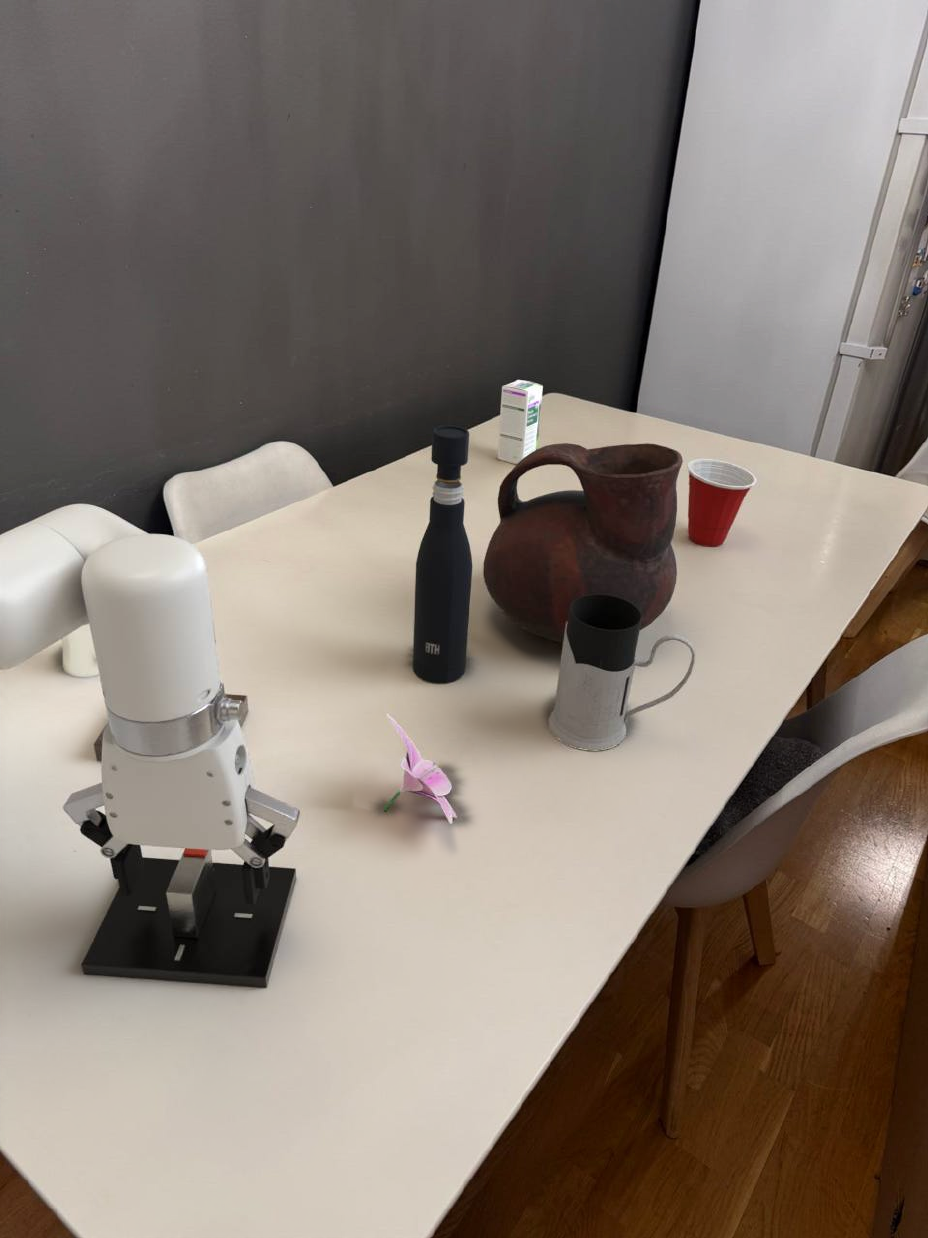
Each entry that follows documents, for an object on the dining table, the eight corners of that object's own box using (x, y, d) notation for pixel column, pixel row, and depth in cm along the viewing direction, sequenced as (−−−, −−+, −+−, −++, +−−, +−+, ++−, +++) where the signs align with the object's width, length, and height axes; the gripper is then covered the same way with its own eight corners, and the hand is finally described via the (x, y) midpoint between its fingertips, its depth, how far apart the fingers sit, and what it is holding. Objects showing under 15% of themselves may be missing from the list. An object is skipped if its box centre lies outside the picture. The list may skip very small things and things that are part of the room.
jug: (539, 559, 134) (558, 398, 121) (694, 615, 122) (733, 442, 109) (441, 624, 116) (451, 443, 103) (612, 697, 104) (646, 502, 92)
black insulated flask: (455, 651, 111) (470, 419, 96) (472, 680, 106) (490, 439, 90) (406, 658, 109) (413, 422, 94) (420, 687, 104) (430, 443, 88)
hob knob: (198, 939, 69) (191, 892, 66) (172, 937, 69) (164, 890, 66) (216, 889, 73) (210, 843, 71) (192, 888, 73) (185, 842, 71)
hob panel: (86, 986, 68) (80, 963, 66) (137, 876, 77) (133, 855, 76) (267, 999, 68) (265, 977, 66) (297, 888, 77) (295, 866, 76)
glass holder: (556, 696, 104) (572, 584, 96) (678, 723, 101) (704, 610, 93) (540, 740, 97) (556, 623, 89) (671, 770, 93) (698, 652, 86)
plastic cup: (739, 559, 138) (756, 488, 132) (669, 546, 141) (683, 475, 135) (743, 532, 147) (759, 464, 141) (678, 520, 150) (691, 453, 144)
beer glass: (129, 669, 104) (110, 555, 96) (67, 686, 100) (42, 569, 92) (112, 641, 109) (93, 531, 101) (52, 657, 105) (27, 543, 97)
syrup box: (522, 466, 167) (529, 390, 160) (495, 459, 170) (501, 384, 163) (536, 458, 172) (544, 384, 164) (510, 451, 174) (517, 378, 167)
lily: (438, 885, 80) (490, 801, 77) (324, 822, 79) (373, 735, 77) (451, 826, 91) (497, 751, 89) (352, 771, 91) (395, 694, 89)
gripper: (302, 687, 64) (312, 858, 72) (65, 673, 64) (104, 845, 73) (279, 754, 57) (293, 933, 66) (16, 737, 58) (64, 917, 66)
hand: (194, 886), depth 69 cm, fingers open, 9 cm apart
